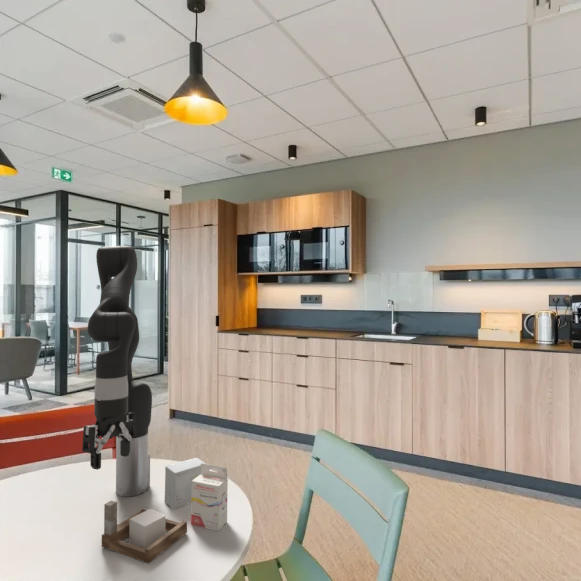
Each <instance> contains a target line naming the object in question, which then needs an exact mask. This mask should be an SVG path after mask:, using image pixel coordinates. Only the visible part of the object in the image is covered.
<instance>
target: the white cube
mask: <svg viewBox="0 0 581 581" xmlns="http://www.w3.org/2000/svg"><path fill="white" fill-rule="evenodd" d="M146 510H147V511H145V512H143V513H141V514H139V515H137V516H134V517H132V518H130V517H129V518H130V524H129V536H128V537H129V542H128V543H129V544H132V545H136V546H139V547H142V548H145V549H146V548H147V547H149V546H150V545H151V544H153V543H154V542H155V541H157V540H158V539H159V538H161V537H162V536H163V535H165V534H166V530H165V519H167V517H166V515H165V514H163V513H161V512H158V511H156V510H153V509H151V508H148V509H146Z"/></svg>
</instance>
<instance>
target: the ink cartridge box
mask: <svg viewBox="0 0 581 581" xmlns="http://www.w3.org/2000/svg"><path fill="white" fill-rule="evenodd" d="M213 469H214V470H215V471H213ZM228 481H229V480H228V469H227V467H226V466H225V467H224V466H221V465H213V464H209V463H206V464H203V463H202V464H201V474H200V475H199V476H198V477H196V478H195V479H194V480H192V491H191V503H190V525H191V526H195V527H198V528H205V529H209V530H212V531H216V530H218V531H217V532H220V530H221V529H222V528H223V527H224V526H225V525H226V524H227V523H228V486H229V485H228V484H229V483H228ZM224 524H225V525H224ZM223 525H224V526H223Z"/></svg>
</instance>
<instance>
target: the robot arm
mask: <svg viewBox="0 0 581 581" xmlns="http://www.w3.org/2000/svg"><path fill="white" fill-rule="evenodd" d="M95 255H96V256H95V257H96V259H95V260H96V267H97V273H98V277H99V278H98V279H99V283H100V290H101V295H100V300H99V305H98V306H97V307H96V309H95V310H94V311H93V313H92V315H91V316H90V318H89V320H88V324H87V334H88V336H89V337H90V339H91V340H93V341H95V342H99V343H102V342H103V343H104V342H107V346H108V350H106V351H101V352H99V353H98V354H97V355H96V359H95V381H94V400H93V401H94V402H93V403H94V407H93V408H94V412H93V413H94V416H95V418H96V420H95V423H94V424H92V425H84V426H83V433H82V435H83V436H82V447H81V452H82V453H87V454H90V462H89V463H90V464H89V465H90V467H91V468H92V469H94V470H97V471H98V470H100V469H101V468H102V452H101V451H102V449H103V447H104V446H105V445H106V444H107V442H108V441H109V440H111V439H113V438H114V437H115V441H116V442H115V447H116V448H115V450H116V451H115V452H116V454H115V455H116V456H115V468H116V469H115V493H116V495H117V496H120V497H133V496H138V495H140V494H143V493H144V492H146V491H147V490H148V487H149V486H150V485H151V456H150V454H149V428H150V424H151V421H152V410H153V409H152V408H153V405H152V404H153V393H152V389H151V387H150V386H149V385H148V384H147V383H144V382H139V381H134V377H133V370H132V367H133V366H132V365H133V364H132V363H133V359H134V356H135V354H136V351H137V349H138V346H139V343H140V328H139V322H138V321H139V320H138V317H137V315H136V313H135V312H134V311H133V309H132V308H131V307H130V294H131V291H132V287H133V283H134V281H135V278H136V275H137V271H138V258H137V253H136V250H135V248H134V247H132V246H131V245H112V246H101V247H98V249H97V250H96V254H95ZM100 437H101V438H100Z"/></svg>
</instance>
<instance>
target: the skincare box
mask: <svg viewBox="0 0 581 581" xmlns="http://www.w3.org/2000/svg"><path fill="white" fill-rule="evenodd" d="M202 463H203V464H207V463H206V462H205V461H203V460H201V459H200V458H198V457H193V458H190V459H186V460H182V461H179V462H175V463H172V464H168V465H165V469H164V471H165V472H164V473H165V476H164V478H165V479H164V481H165V482H164V502H165V503H166V504H167V505H168V506H170V507H171V508H172V509H175V510H176V509H178V508H181V507H184V506H186V505H190V504H191V491H192V480H194V479H195V478H196V477H198V476H199V475H200V474H201V464H202Z"/></svg>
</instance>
